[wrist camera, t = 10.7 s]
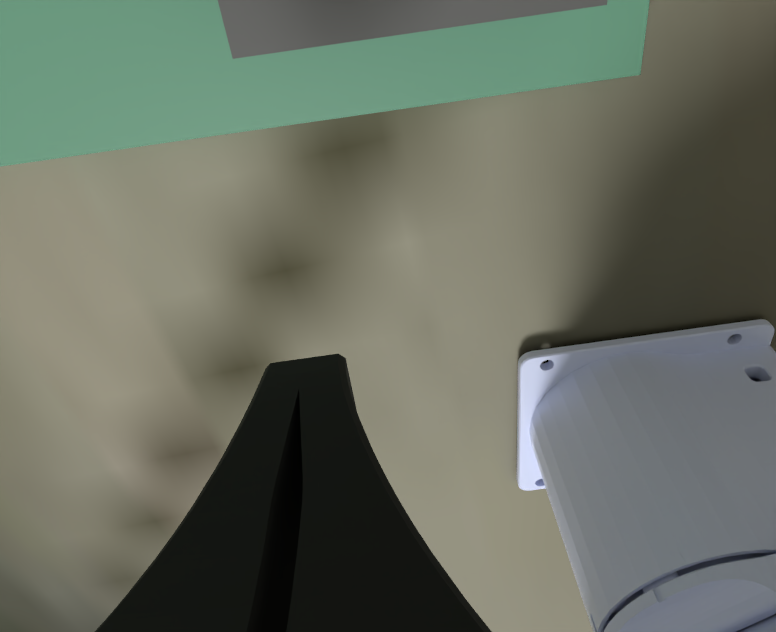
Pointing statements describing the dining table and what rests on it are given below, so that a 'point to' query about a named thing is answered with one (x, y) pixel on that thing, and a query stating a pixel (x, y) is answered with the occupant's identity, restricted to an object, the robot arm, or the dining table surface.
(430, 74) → the board
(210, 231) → the dining table surface
